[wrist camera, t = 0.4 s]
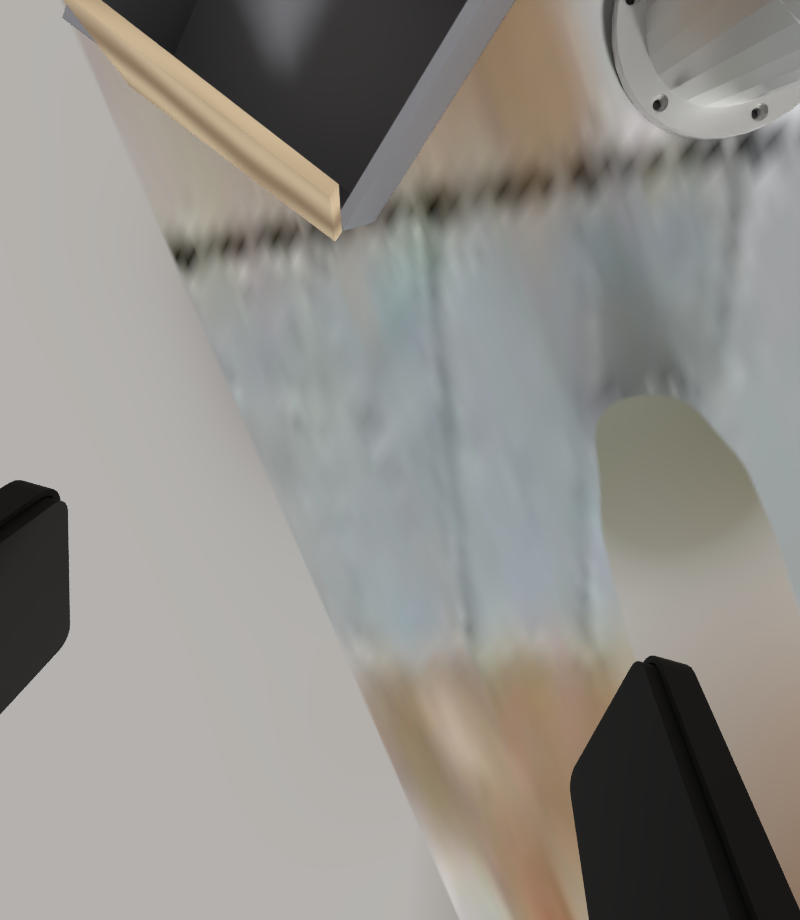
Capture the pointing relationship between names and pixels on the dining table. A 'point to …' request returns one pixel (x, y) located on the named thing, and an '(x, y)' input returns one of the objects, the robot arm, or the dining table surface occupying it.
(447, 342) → the dining table surface
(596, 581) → the dining table surface
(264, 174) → the flap
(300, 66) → the carton
